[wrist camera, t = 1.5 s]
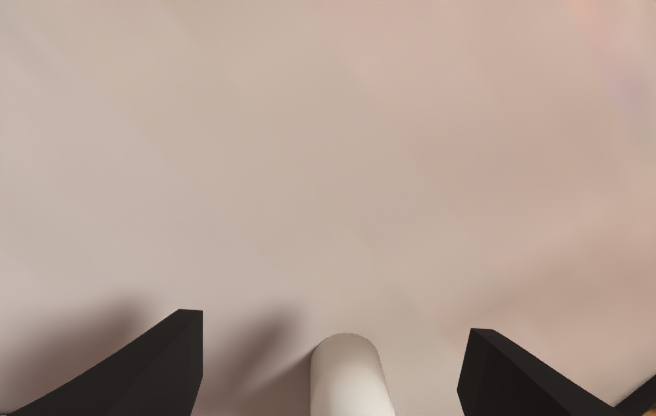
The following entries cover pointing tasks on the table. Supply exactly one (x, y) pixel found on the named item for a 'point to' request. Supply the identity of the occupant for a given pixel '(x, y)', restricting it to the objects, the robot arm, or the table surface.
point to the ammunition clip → (640, 401)
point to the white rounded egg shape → (348, 378)
